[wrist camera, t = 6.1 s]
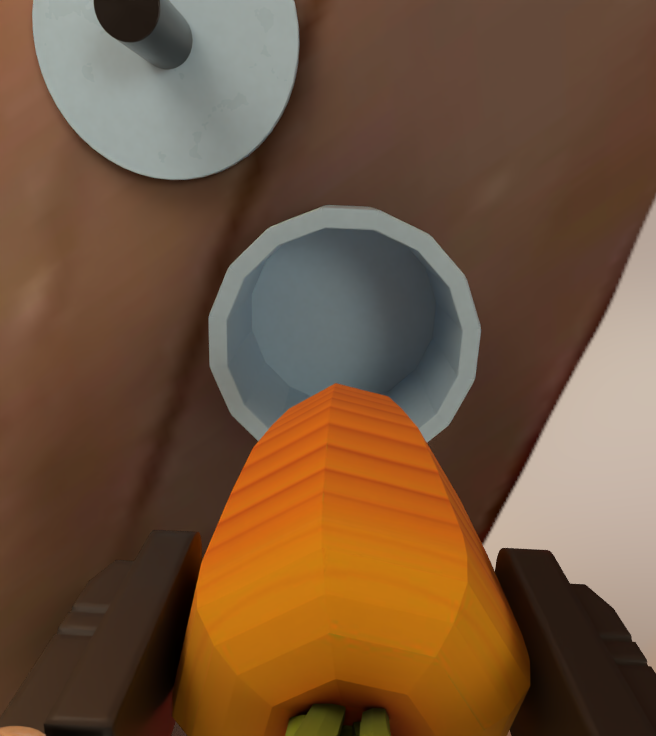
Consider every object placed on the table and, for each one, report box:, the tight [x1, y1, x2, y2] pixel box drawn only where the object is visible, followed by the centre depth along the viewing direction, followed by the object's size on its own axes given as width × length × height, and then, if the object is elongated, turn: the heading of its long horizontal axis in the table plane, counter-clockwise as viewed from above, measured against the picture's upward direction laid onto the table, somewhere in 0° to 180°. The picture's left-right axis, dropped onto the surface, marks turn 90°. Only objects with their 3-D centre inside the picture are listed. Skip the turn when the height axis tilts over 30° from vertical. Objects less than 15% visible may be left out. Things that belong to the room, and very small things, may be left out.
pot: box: [208, 205, 481, 442], centre depth 28 cm, size 12×12×7 cm
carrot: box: [172, 383, 530, 736], centre depth 10 cm, size 5×5×15 cm
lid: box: [32, 0, 300, 180], centre depth 25 cm, size 13×13×6 cm
